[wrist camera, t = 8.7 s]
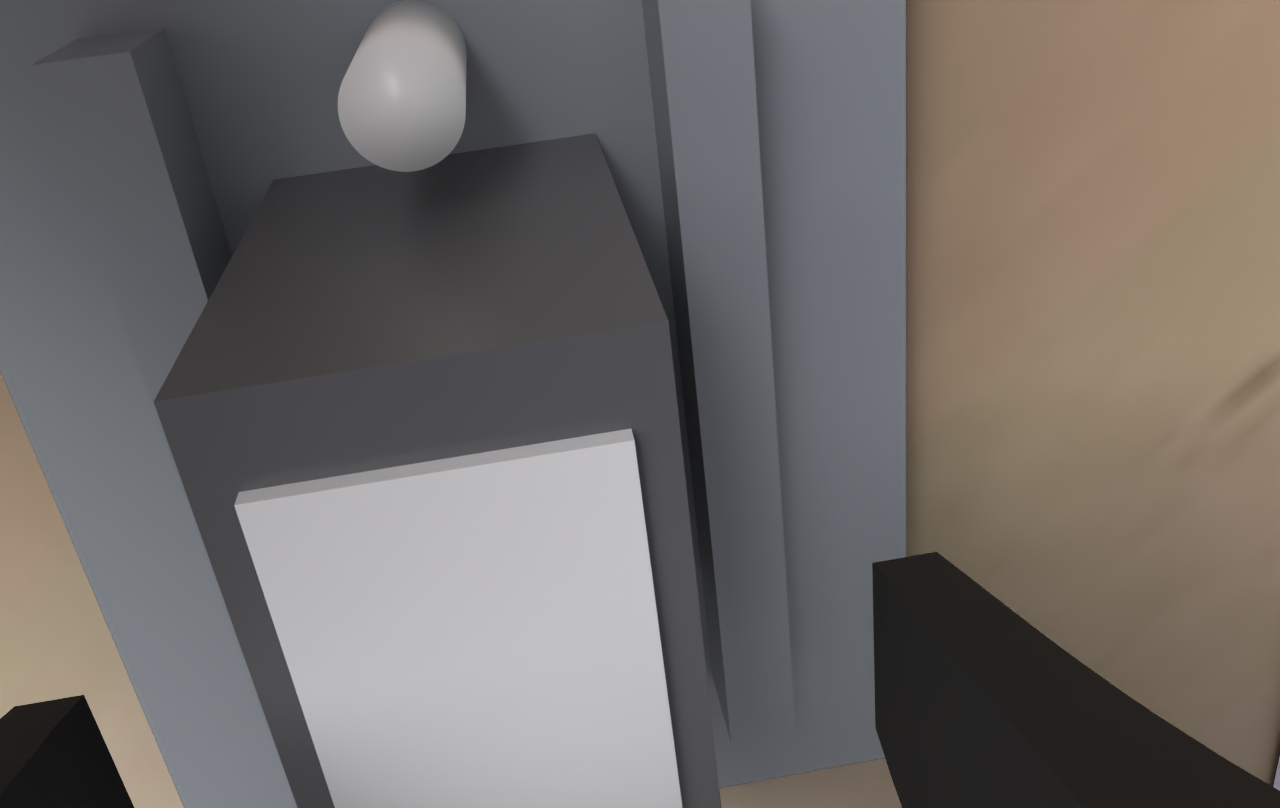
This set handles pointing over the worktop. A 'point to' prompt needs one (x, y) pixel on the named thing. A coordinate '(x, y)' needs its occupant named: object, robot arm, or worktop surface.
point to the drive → (452, 488)
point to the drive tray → (415, 140)
